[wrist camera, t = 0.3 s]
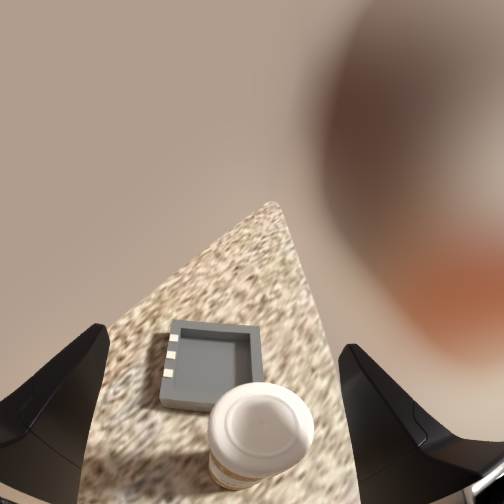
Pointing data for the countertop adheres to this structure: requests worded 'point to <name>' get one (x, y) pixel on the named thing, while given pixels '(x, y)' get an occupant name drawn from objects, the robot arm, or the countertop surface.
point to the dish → (208, 363)
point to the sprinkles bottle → (257, 434)
